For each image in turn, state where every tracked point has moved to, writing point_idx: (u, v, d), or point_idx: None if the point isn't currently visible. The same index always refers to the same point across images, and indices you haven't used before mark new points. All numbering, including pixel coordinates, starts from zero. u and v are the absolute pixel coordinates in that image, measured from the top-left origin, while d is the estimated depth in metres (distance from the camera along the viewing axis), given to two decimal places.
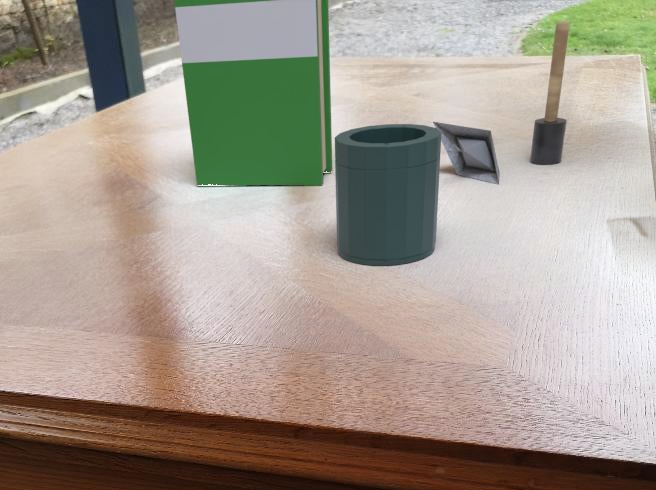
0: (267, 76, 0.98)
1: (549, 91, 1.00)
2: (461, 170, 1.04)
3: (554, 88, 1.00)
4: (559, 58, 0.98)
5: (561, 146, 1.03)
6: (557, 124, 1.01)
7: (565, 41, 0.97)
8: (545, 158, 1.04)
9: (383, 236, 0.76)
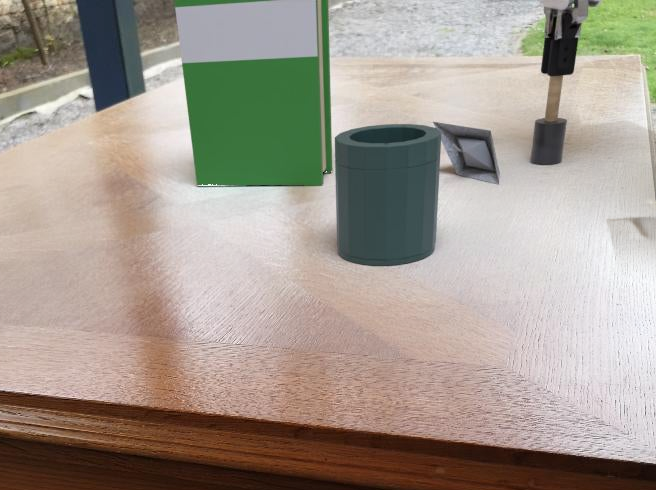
0: (267, 76, 0.98)
1: (550, 91, 1.00)
2: (461, 170, 1.04)
3: (554, 88, 1.00)
4: None
5: (561, 146, 1.03)
6: (557, 124, 1.01)
7: None
8: (546, 159, 1.04)
9: (383, 236, 0.76)
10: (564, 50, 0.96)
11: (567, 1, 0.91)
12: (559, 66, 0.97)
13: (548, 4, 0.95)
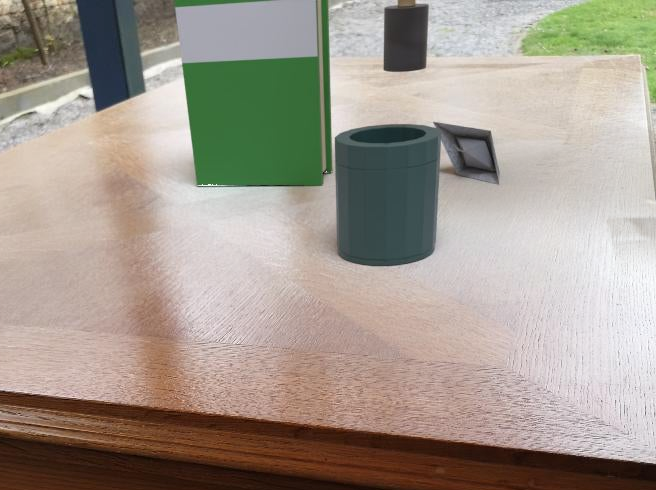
0: (267, 76, 0.98)
1: None
2: (461, 170, 1.04)
3: None
4: None
5: (423, 44, 0.72)
6: (413, 9, 0.69)
7: None
8: (401, 63, 0.72)
9: (383, 236, 0.76)
10: None
11: None
12: None
13: None
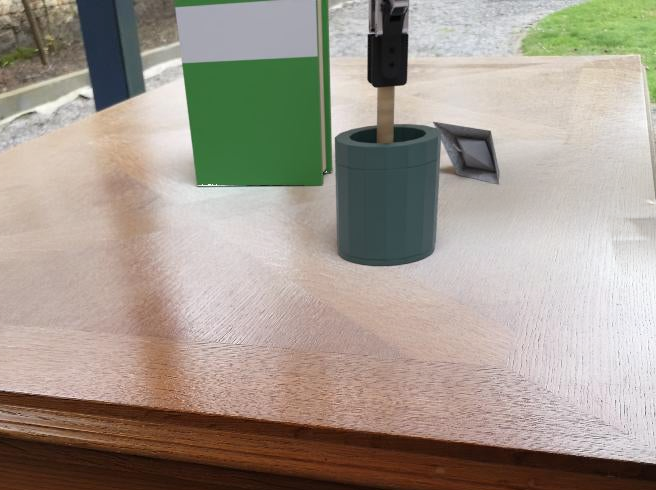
0: (267, 76, 0.98)
1: (378, 107, 0.73)
2: (461, 170, 1.04)
3: (384, 103, 0.73)
4: None
5: None
6: None
7: None
8: None
9: (383, 236, 0.76)
10: (389, 52, 0.69)
11: None
12: (384, 74, 0.70)
13: None
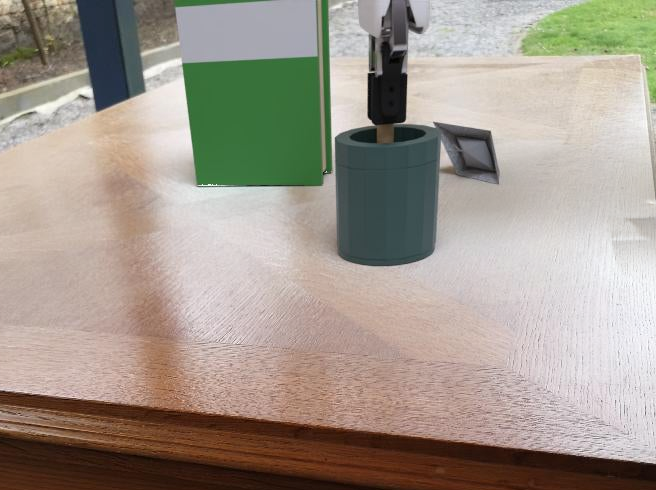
0: (267, 76, 0.98)
1: None
2: (461, 170, 1.04)
3: (383, 140, 0.75)
4: None
5: None
6: None
7: None
8: None
9: (383, 236, 0.76)
10: (389, 92, 0.71)
11: (379, 27, 0.66)
12: (384, 112, 0.72)
13: (365, 29, 0.70)
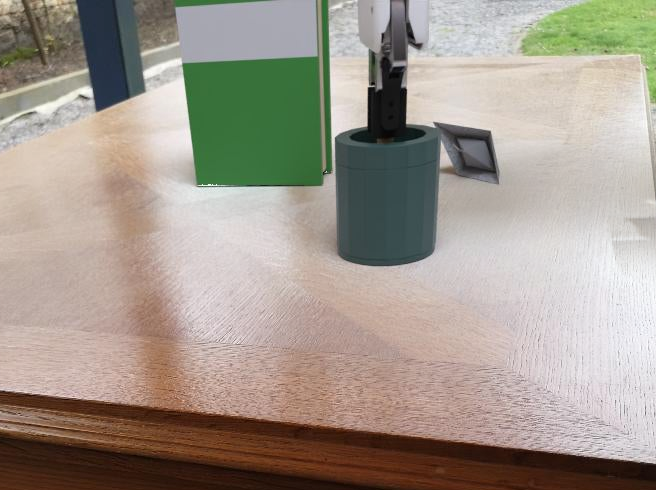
0: (267, 76, 0.98)
1: None
2: (461, 170, 1.04)
3: None
4: None
5: None
6: None
7: None
8: None
9: (383, 236, 0.76)
10: (389, 106, 0.72)
11: (379, 43, 0.66)
12: (384, 126, 0.73)
13: (365, 44, 0.71)
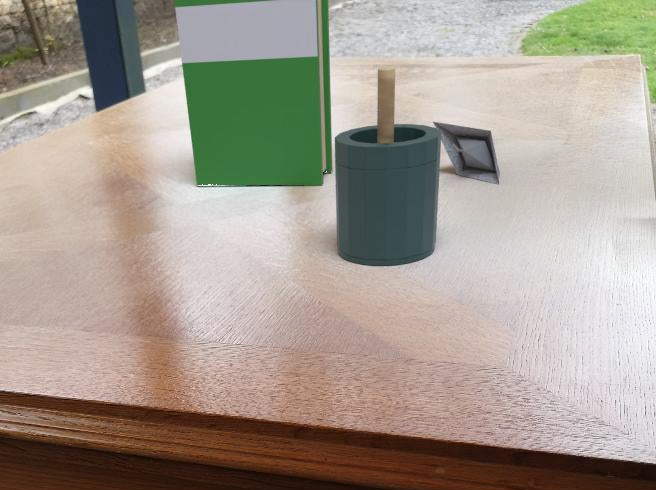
0: (267, 76, 0.98)
1: None
2: (461, 170, 1.04)
3: None
4: (385, 114, 0.73)
5: None
6: None
7: (391, 93, 0.72)
8: None
9: (383, 236, 0.76)
10: None
11: None
12: None
13: None
